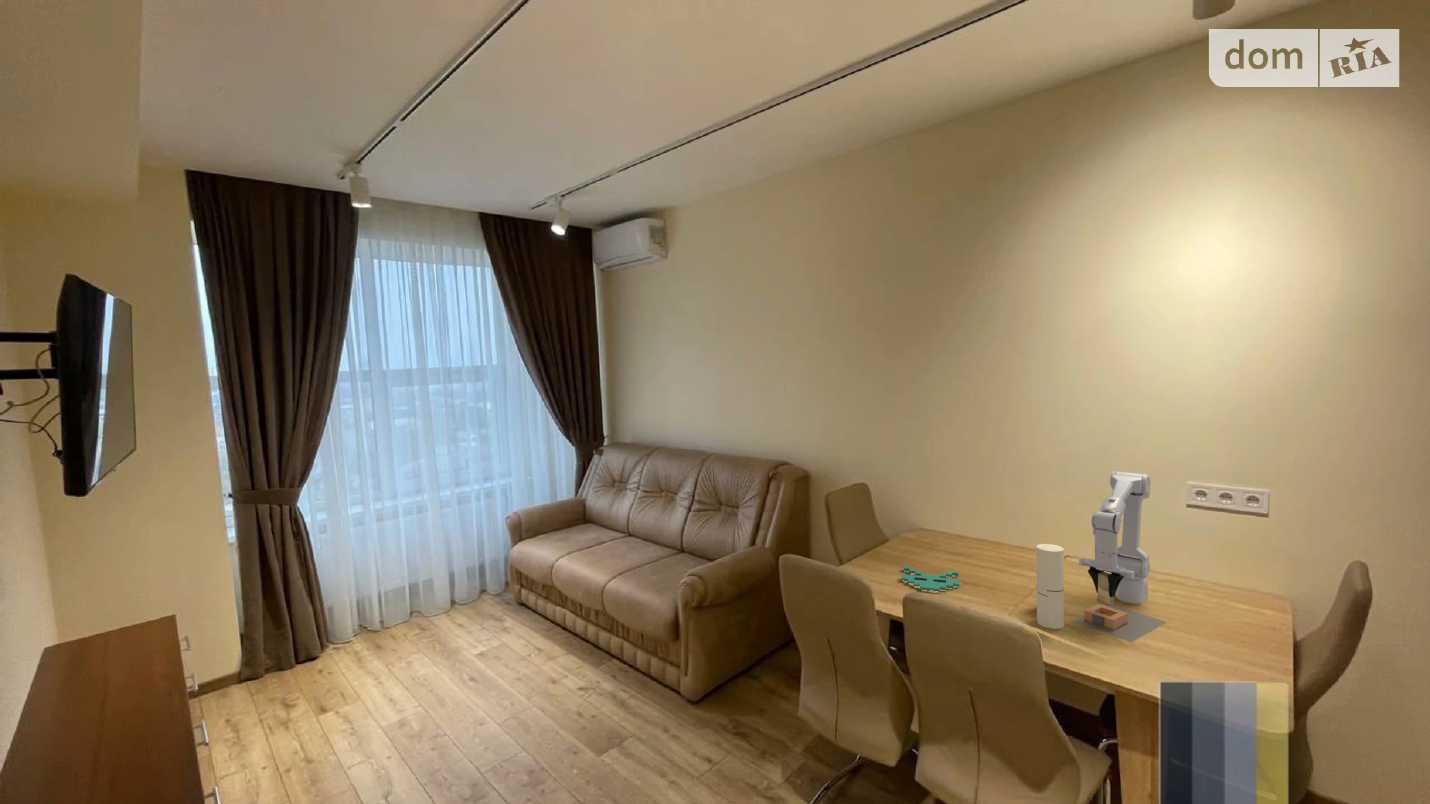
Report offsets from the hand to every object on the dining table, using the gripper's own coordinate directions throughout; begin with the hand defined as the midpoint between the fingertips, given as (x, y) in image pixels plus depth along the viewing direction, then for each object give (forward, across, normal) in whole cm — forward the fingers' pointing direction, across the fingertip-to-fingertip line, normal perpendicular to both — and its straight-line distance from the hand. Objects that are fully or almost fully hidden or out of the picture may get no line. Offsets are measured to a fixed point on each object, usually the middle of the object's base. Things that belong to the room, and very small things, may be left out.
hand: (1105, 594), depth 172 cm
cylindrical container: (+10, -9, -14) cm, 19 cm away
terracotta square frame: (+9, 0, 0) cm, 9 cm away
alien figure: (+11, -53, -15) cm, 56 cm away
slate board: (+10, +2, +4) cm, 11 cm away
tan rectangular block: (+3, 0, 0) cm, 3 cm away
